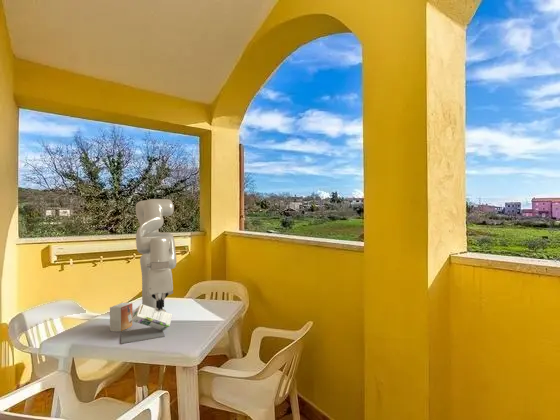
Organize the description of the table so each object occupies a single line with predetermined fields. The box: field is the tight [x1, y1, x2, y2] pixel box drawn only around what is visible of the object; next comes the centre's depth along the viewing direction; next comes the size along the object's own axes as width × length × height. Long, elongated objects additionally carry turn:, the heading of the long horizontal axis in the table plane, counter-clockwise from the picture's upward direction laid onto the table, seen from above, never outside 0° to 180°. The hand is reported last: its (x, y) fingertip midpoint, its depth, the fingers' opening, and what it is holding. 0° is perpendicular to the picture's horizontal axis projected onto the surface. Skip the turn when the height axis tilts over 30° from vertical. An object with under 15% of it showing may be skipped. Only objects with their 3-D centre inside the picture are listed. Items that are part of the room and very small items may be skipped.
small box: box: [109, 302, 133, 333], centre depth 142 cm, size 8×6×10 cm
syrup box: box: [132, 303, 173, 332], centre depth 135 cm, size 6×6×14 cm
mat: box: [120, 326, 165, 345], centre depth 134 cm, size 14×16×1 cm
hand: (160, 309), depth 137 cm, fingers closed
